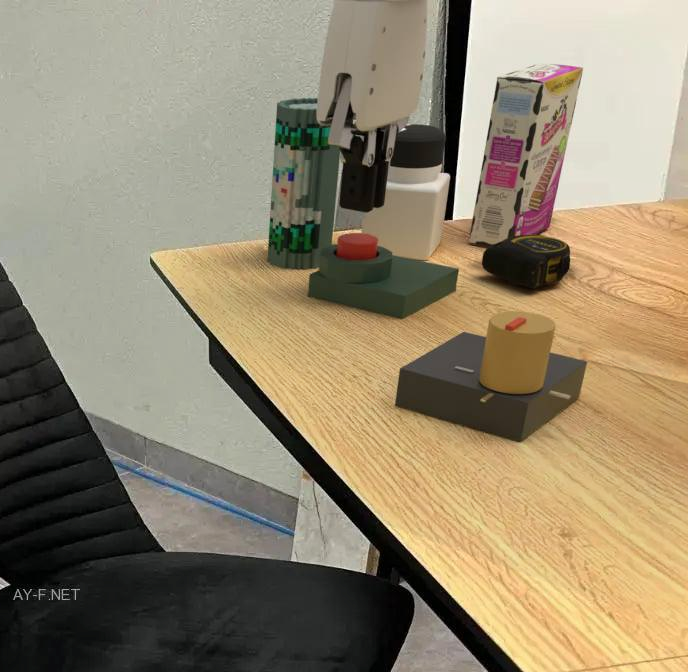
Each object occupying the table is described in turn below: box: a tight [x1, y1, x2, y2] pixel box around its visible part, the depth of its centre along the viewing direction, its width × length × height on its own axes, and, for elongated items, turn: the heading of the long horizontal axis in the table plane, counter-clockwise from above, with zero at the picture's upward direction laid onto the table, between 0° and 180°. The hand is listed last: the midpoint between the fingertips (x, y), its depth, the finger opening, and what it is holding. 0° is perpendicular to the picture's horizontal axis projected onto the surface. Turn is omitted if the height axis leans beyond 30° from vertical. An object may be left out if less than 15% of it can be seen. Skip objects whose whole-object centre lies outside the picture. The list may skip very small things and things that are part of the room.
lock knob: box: [479, 310, 557, 394], centre depth 80 cm, size 4×4×5 cm
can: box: [267, 97, 341, 271], centre depth 113 cm, size 6×6×15 cm
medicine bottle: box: [361, 123, 451, 262], centre depth 116 cm, size 7×7×12 cm
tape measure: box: [481, 234, 571, 289], centre depth 109 cm, size 7×7×4 cm
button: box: [336, 232, 378, 260], centre depth 105 cm, size 4×4×2 cm
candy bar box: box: [467, 63, 584, 248], centre depth 118 cm, size 11×5×16 cm, turn 141°
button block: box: [307, 243, 460, 320], centre depth 107 cm, size 10×10×4 cm
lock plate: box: [394, 331, 588, 443], centre depth 84 cm, size 12×12×3 cm
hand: (361, 206), depth 103 cm, fingers closed
